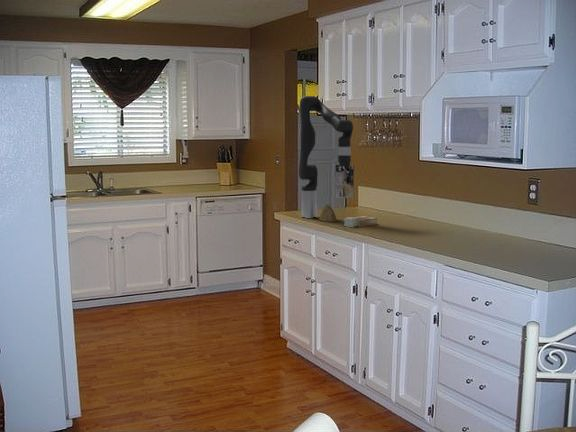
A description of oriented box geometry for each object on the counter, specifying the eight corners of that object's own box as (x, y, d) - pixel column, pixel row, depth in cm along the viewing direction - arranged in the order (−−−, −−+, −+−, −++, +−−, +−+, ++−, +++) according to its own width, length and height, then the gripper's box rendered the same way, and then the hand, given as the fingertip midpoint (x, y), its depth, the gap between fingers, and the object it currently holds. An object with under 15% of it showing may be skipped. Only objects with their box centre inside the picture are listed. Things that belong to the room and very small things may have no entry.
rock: (341, 217, 401) (334, 213, 410) (333, 207, 398) (327, 203, 407) (327, 229, 400) (321, 224, 409) (319, 218, 397) (313, 214, 406)
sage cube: (344, 226, 382) (344, 218, 381) (349, 225, 386) (349, 217, 385) (351, 227, 379) (351, 219, 378) (356, 226, 382) (356, 217, 382)
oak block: (347, 224, 391) (347, 217, 391) (362, 222, 399) (362, 215, 398) (361, 227, 382) (361, 220, 381) (376, 224, 389) (376, 218, 388)
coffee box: (346, 196, 400) (346, 169, 398) (354, 197, 395) (353, 170, 393) (335, 197, 394) (335, 170, 392) (342, 198, 389) (342, 171, 387)
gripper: (331, 154, 394) (331, 182, 397) (347, 155, 383) (348, 184, 385) (341, 153, 399) (341, 181, 401) (357, 154, 387) (357, 183, 390)
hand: (344, 182), depth 393 cm, fingers closed on coffee box, 6 cm apart
